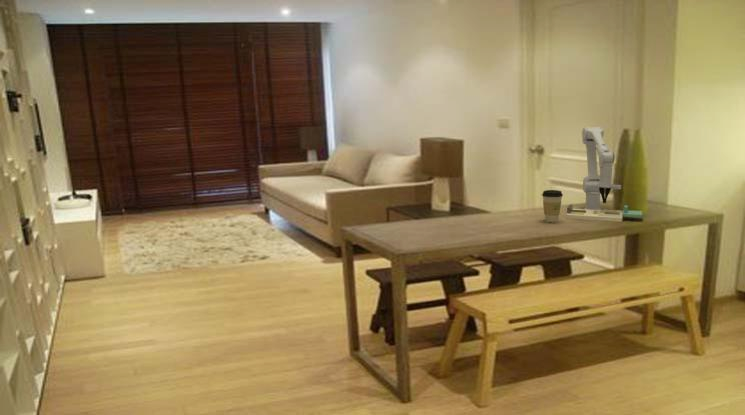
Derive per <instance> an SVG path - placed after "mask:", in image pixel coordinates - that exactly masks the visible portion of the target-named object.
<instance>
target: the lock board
mask: <svg viewBox="0 0 745 415" xmlns="http://www.w3.org/2000/svg"><path fill="white" fill-rule="evenodd" d="M573 210H585V209H584V208H583V209H580V208H573ZM622 212H623V210H618V209H617V210H612V209H600V210H586V213H585V212H571V213H567V212H566V216H565V217H566V219H567V220H568V219H569V220H583V221H584V220H585V221H601V222H602V221H603V222H617V223H618V222H619V223H620V222H621V223H622V222H623V219H624V216H622Z"/></svg>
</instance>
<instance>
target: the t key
mask: <svg viewBox="0 0 745 415" xmlns="http://www.w3.org/2000/svg"><path fill="white" fill-rule="evenodd" d="M573 206H574V205H573V204H572V203H571V204H569V205H568V206H567V207H566V208H567V209H566V214H567V213H571V212H585V213H586V210H573V209H574V207H573Z"/></svg>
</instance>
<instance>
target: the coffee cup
mask: <svg viewBox="0 0 745 415" xmlns="http://www.w3.org/2000/svg"><path fill="white" fill-rule="evenodd" d="M541 196H542V205H543V214H544V221H546V222H545V223H549V222H556V223H559V219H560V214H561V207H562V198H563V196H564V194H563V193H562V191H561V190H557V189H551V190H550V189H548V190H543V193H542V194H541Z"/></svg>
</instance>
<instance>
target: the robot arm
mask: <svg viewBox="0 0 745 415" xmlns="http://www.w3.org/2000/svg"><path fill="white" fill-rule="evenodd" d="M604 130H605V129H604V128H603V126H584V127H583V128H582V131H581V132H582V133H581V137H582V144H584V145H585V148H586V161H587V162H586V164H587V176H585V177H584V178H583V179H582V180H583V181H582V190H583V193H585V207H584V208H583V209H585V210H602V206H601V199H602V203H603V204H606V203H607V200H608V196H609V195H610V192H611V190H621V189H622V185H621V184H613V183H612V181H613V178H612V176H613V164H614V163H615V160H616V159H615V157H616V156H615V152H613V150H610V147H609V145H608V144H607V142H605V141H604V135H605V131H604ZM597 155H598V157H597ZM597 158H598V159H597ZM598 166H599V171H598ZM598 173H599V174H598Z"/></svg>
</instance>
